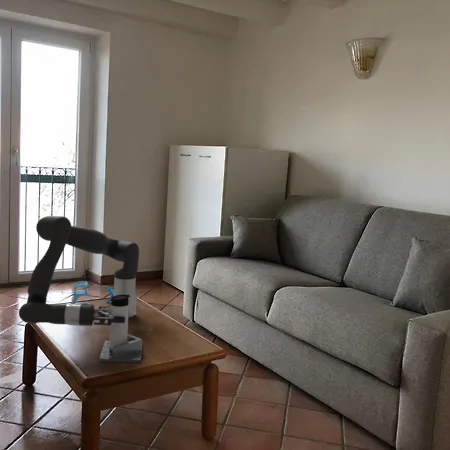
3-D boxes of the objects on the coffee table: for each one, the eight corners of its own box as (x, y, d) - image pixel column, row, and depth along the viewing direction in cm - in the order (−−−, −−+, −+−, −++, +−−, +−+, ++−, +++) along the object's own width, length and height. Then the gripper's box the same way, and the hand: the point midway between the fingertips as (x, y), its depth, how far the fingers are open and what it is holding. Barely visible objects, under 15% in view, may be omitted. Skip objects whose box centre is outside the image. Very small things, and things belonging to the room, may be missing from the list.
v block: (98, 361, 177) (99, 347, 176) (105, 343, 195) (105, 330, 194) (140, 362, 179) (140, 348, 178) (142, 343, 196) (143, 331, 196)
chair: (70, 304, 241) (71, 279, 239) (88, 304, 243) (89, 279, 241) (70, 309, 233) (70, 283, 232) (89, 309, 236) (90, 283, 234)
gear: (122, 302, 243) (107, 287, 243) (112, 311, 243) (98, 295, 242) (124, 299, 254) (110, 284, 254) (115, 307, 254) (101, 292, 253)
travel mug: (128, 352, 184) (130, 297, 182) (109, 352, 183) (111, 297, 180) (126, 345, 190) (129, 292, 188) (108, 346, 188) (110, 293, 186)
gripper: (76, 310, 176) (125, 311, 178) (83, 299, 190) (128, 300, 192) (75, 331, 177) (124, 332, 179) (82, 318, 191) (127, 320, 193)
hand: (126, 316), depth 185 cm, fingers open, 8 cm apart
